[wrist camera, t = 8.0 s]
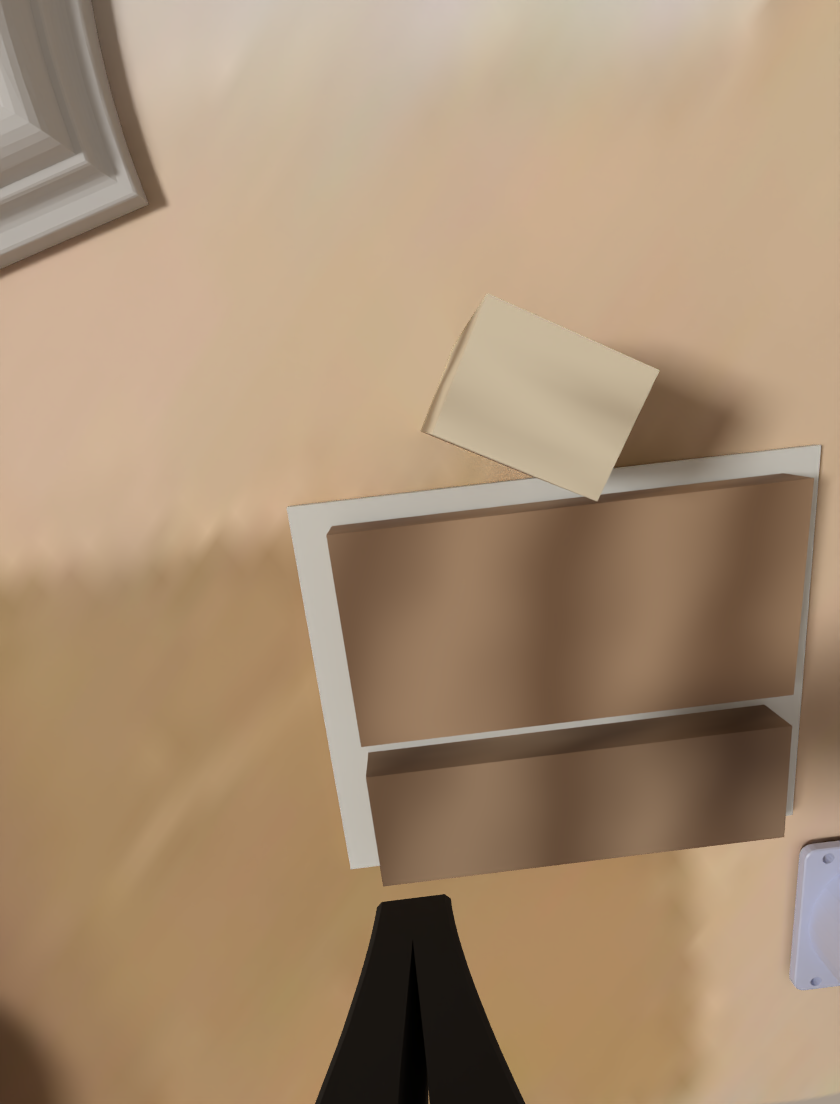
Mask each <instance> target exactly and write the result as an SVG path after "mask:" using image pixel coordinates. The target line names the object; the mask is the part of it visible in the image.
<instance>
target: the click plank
mask: <svg viewBox="0 0 840 1104" xmlns="http://www.w3.org/2000/svg"><path fill="white" fill-rule="evenodd" d="M813 485H814V478H810V477H804V476H798V475H791V474H785V473H781V474H772V475H764V476H755V477H747V478H738V479H730V480H721V481H712V482H704V483H695V484H687V485H678V486H670V487H661V488H653V489H644V490H636V491H627V492H619V493H610V494H602V495H600V497H599V499H598V501H595V500H592V499H589V498H587V497H576V498H567V499H559V500H550V501H542V502H533V503H525V504H516V505H508V506H499V507H491V508H482V509H474V510H465V511H456V512H448V513H439V514H431V515H422V516H414V517H405V518H397V519H388V520H380V521H371V522H363V523H354V524H346V525H337V526H332V527H331V528H330V530H329V532H328V533H327V535H326V537H327V543H328V549H329V555H330V561H331V567H332V573H333V580H334V586H335V592H336V598H337V604H338V610H339V616H340V622H341V628H342V634H343V640H344V646H345V652H346V658H347V664H348V671H349V677H350V683H351V689H352V695H353V701H354V707H355V713H356V719H357V725H358V731H359V737H360V743H361V747H366V746H375V745H383V744H391V743H399V742H408V741H416V740H424V739H432V738H441V737H449V736H457V735H466V734H474V733H482V732H490V731H499V730H507V729H515V728H523V727H532V726H540V725H548V724H557V723H565V722H573V721H581V720H590V719H598V718H606V717H615V716H623V715H631V714H639V713H648V712H656V711H664V710H672V709H681V708H689V707H697V706H706V705H714V704H722V703H730V702H739V701H747V700H755V699H763V698H772V697H780V696H788V695H794V686H795V675H796V665H797V654H798V644H799V633H800V623H801V612H802V601H803V591H804V580H805V570H806V559H807V549H808V538H809V528H810V517H811V506H812V496H813Z"/></svg>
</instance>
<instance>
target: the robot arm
mask: <svg viewBox="0 0 840 1104" xmlns="http://www.w3.org/2000/svg"><path fill="white" fill-rule="evenodd" d="M789 977H790V980H791V982H792V983H793V984H794V986H795V987H796V988H797V989H800V990H809V989H817V988H825V987H833V986H840V840H839V841H831V842H823V843H815V844H809V845H806V846H805V847H803V848H802V850H801V851H800V855H799V867H798V879H797V891H796V903H795V914H794V926H793V938H792V950H791V962H790V974H789ZM428 1090H429V1100H430V1104H525V1102H524V1100H523V1098H522V1096H521V1094H520V1091H519V1089H518V1087H517V1085H516V1083H515V1081H514V1078H513V1076H512V1074H511V1072H510V1070H509V1067H508V1065H507V1063H506V1061H505V1058H504V1056H503V1054H502V1052H501V1050H500V1047H499V1045H498V1042H497V1040H496V1038H495V1035H494V1033H493V1031H492V1028H491V1026H490V1023H489V1021H488V1018H487V1016H486V1013H485V1011H484V1008H483V1006H482V1003H481V1001H480V998H479V995H478V993H477V990H476V988H475V985H474V982H473V979H472V977H471V974H470V971H469V968H468V965H467V962H466V959H465V956H464V953H463V950H462V947H461V943H460V940H459V936H458V933H457V929H456V925H455V920H454V916H453V911H452V905H451V899H450V898H449V897H448V896H446V895H445V894H443V895H435V896H427V897H419V898H411V899H403V900H395V901H386V902H382V903H381V904H380V905H379V906H378V907H377V911H376V916H375V921H374V926H373V930H372V935H371V939H370V943H369V947H368V951H367V954H366V958H365V961H364V965H363V968H362V972H361V975H360V979H359V982H358V985H357V988H356V991H355V994H354V997H353V1000H352V1004H351V1007H350V1010H349V1013H348V1016H347V1019H346V1022H345V1025H344V1028H343V1031H342V1034H341V1036H340V1039H339V1042H338V1045H337V1048H336V1050H335V1053H334V1055H333V1058H332V1061H331V1063H330V1066H329V1069H328V1071H327V1074H326V1076H325V1079H324V1082H323V1084H322V1087H321V1090H320V1092H319V1095H318V1098H317V1100H316V1103H315V1104H428Z"/></svg>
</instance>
